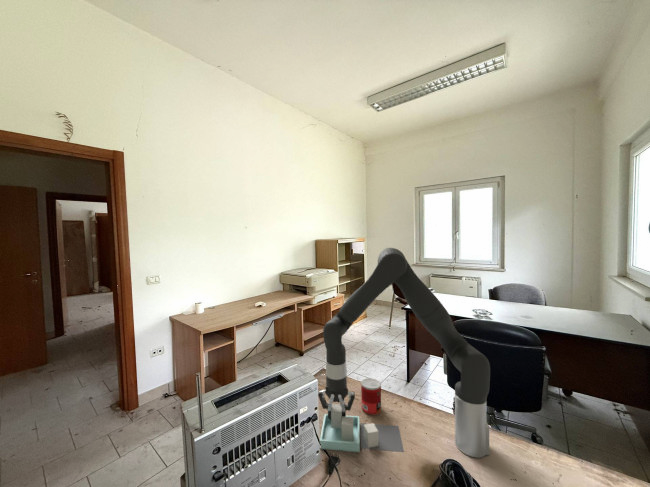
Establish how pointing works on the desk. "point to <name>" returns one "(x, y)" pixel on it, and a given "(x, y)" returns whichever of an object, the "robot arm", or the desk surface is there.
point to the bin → (339, 437)
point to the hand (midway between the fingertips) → (336, 419)
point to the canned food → (371, 396)
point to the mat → (385, 438)
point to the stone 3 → (371, 435)
